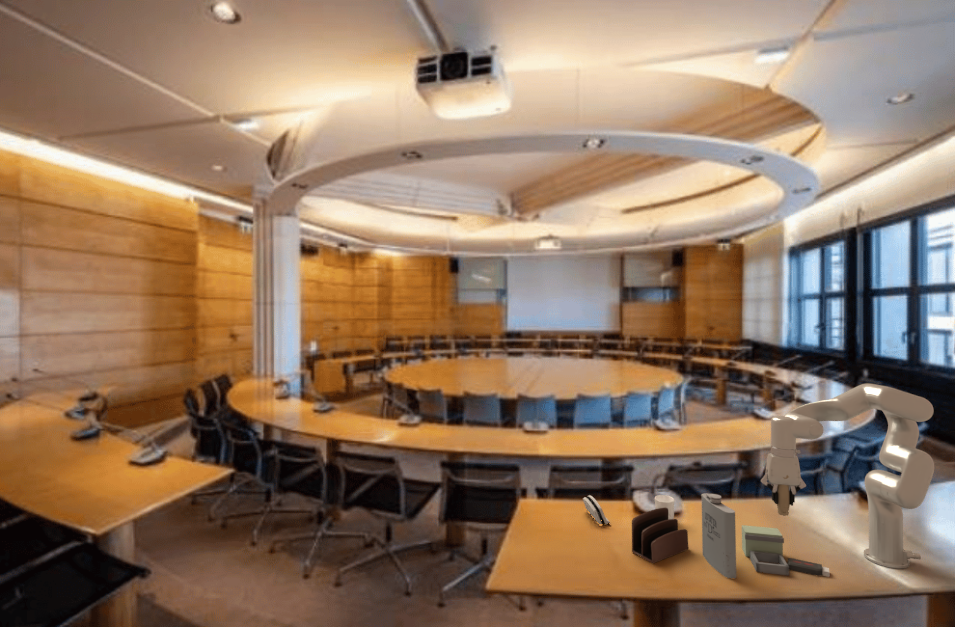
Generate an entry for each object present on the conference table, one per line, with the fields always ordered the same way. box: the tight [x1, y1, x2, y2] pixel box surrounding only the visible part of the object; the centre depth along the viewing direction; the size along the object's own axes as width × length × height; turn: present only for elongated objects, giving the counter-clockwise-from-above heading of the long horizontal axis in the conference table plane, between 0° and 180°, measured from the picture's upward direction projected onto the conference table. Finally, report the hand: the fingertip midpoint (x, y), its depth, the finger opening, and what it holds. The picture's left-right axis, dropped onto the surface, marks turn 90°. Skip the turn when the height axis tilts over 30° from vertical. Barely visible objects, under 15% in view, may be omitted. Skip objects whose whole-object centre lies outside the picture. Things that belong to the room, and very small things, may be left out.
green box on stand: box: [741, 524, 790, 576], centre depth 177 cm, size 12×16×9 cm
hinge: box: [582, 494, 611, 525], centre depth 216 cm, size 17×5×10 cm, turn 7°
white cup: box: [654, 494, 675, 520], centre depth 211 cm, size 8×8×10 cm
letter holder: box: [631, 508, 689, 564], centre depth 186 cm, size 10×20×14 cm, turn 119°
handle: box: [776, 475, 791, 517], centre depth 174 cm, size 5×6×15 cm
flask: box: [700, 492, 737, 580], centre depth 175 cm, size 17×5×25 cm, turn 4°
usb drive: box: [786, 557, 831, 578], centre depth 171 cm, size 5×12×3 cm, turn 58°
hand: (783, 502), depth 174 cm, fingers closed on handle, 4 cm apart
